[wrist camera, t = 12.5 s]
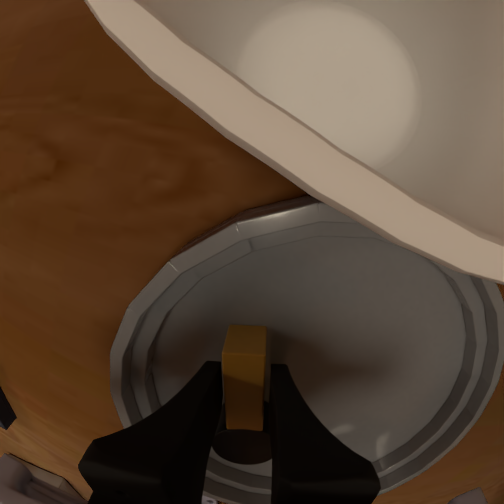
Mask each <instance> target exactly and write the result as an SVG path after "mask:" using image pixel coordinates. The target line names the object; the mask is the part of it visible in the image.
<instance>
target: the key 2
mask: <svg viewBox="0 0 504 504" xmlns="http://www.w3.org/2000/svg"><path fill="white" fill-rule="evenodd" d="M266 338H267V327H266V326H254V325H229V327H228V331H227V335H226V339H225V343H224V347H223V351H222V366H223V383H224V398H225V403H223V404H222V409H221V415H220V419H219V423H218V426H217V430H216V433H215V437H214V440H213V444H212V448H213V450H214V452H215V453H216V454H217V455H218V456H220V457H221V458H223V459H225V460H227V461H229V462H232V463H236V464H242V465H254V464H260V463H264V462H267V461H269V460H271V459H272V454H271V442H270V430H269V403H268V402H266V401H264V391H265V366H266Z"/></svg>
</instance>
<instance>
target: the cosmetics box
mask: <svg viewBox="0 0 504 504" xmlns="http://www.w3.org/2000/svg"><path fill="white" fill-rule="evenodd" d="M8 455H9V456H11V457H13V458H14V459H16V460H18V461H19V462H21V463H22V464H24V465H25V466H26V467H27V468H28V469H29V470H30V472H31V473H32V475H33V476H35V477H37V478H39V479H40V480H42V481H44V482H46V483H48V484H50V485H52V486H55V487H57V488H59V489H61V490H63V491H65V492H68V493H70V494H72V495H74V496H77V497H79V498H82V497H81V496H80V495H79V494H78V493H77V492H76V491H75V490H74V489H73V488H72V487H71V486H70V485H69V484H68V482H67V481H66V480H65V479H64V478H62V477H60V476H57V475H54V474H52V473H49V472H47V471H45V470H42V469H40V468H38V467H35V466H33V465H31V464H29V463H27V462H25V461H23V460H20V459H19V458H17V457H15V456H13V455H11V454H8ZM82 499H83V498H82Z"/></svg>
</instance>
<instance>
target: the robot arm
mask: <svg viewBox="0 0 504 504" xmlns="http://www.w3.org/2000/svg"><path fill="white" fill-rule="evenodd" d="M222 402H223V383H222V368H221V361H208V360H207V361H206V362H205V363H204V364H203V365H202V366H201V368H200V369H199V370H198V371H197V373H196V374H195V375H194V376H193V377H192V378H191V379H190V381H189V382H188V383H187V384H186V385H185V386H184V387H183V388H182V389H181V390H180V391H179V392H178V393H177V394H176V395H175V396H173V397H172V398H171V399H170V400H169V401H168V402H167V403H165V404H164V405H163V406H162V407H160V408H159V409H158V410H156V411H155V412H154V413H152V414H150V415H149V416H147V417H146V418H144V419H142V420H141V421H139V422H137V423H135V424H134V425H131V426H129V427H127V428H125V429H123V430H121V431H118V432H116V433H113V434H110V435H107V436H104V437H101V438H98V439H94V440H93V441H92V443H91V444H90V446H89V447H88V449H87V450H86V452H85V454H84V455H83V457H82V459H81V461H80V463H79V464H78V469H79V471H80V473H81V475H82V476H83V478H84V479H85V480H86V482H87V483H88V485H89V486H90V487H91V488H92V490H93V493H92V495H91V497H90V499H89V501H87V500H84V499H82V498H79V497H77V496H74V495H72V494H70V493H68V492H65V491H63V490H61V489H59V488H57V487H55V486H52V485H50V484H48V483H46V482H44V481H42V480H40V479H39V478H37V477H35V476H33V475H32V473H31V472H30V470H29V469H28V468H27V467H26V466H25V465H24V464H22V463H21V462H19V461H18V460H16V459H14V458H13V457H11V456H9V455H8V454H6V453H4V454H3V456H2V457H1V458H0V504H218V501H217V500H215V499H212V498H209V497H206V496H204V495H203V489H204V482H205V475H206V469H207V463H208V458H209V454H210V451H211V447H212V444H213V440H214V437H215V433H216V430H217V426H218V423H219V419H220V415H221V409H222ZM269 430H270V442H271V454H272V483H271V504H371V503H372V502H373V500H374V499H375V498H376V496H377V495H378V493H379V492H380V489H381V485H380V480H379V477H378V475H377V473H376V470H375V468H374V466H373V464H372V462H371V461H369V460H367V459H365V458H364V457H362V456H360V455H359V454H357V453H356V452H354V451H353V450H351V449H350V448H349V447H347V446H346V445H345V444H343V443H342V442H341V441H340V440H339V439H338V438H337V437H335V436H334V435H333V434H332V433H331V432H330V431H329V430H328V429H327V428H326V427H325V426H324V425H323V424H322V423H321V422H320V420H319V419H318V418H317V417H316V416H315V414H314V413H313V412H312V410H311V409H310V408H309V406H308V405H307V403H306V402H305V400H304V399H303V397H302V395H301V394H300V392H299V390H298V388H297V387H296V385H295V383H294V381H293V379H292V376H291V374H290V371H289V368H288V366H287V365H286V364H271V373H270V392H269ZM448 504H488V503H487V501H486V499H485V496H484V494H483V492H482V490H481V488H480V487H478V488H476V489H473V490H471V491H469V492H466V493H464V494H461V495H459V496H457V497H455V498H453V499H452V500H451V501H450V502H449V503H448Z"/></svg>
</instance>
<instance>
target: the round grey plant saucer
mask: <svg viewBox="0 0 504 504" xmlns="http://www.w3.org/2000/svg"><path fill="white" fill-rule="evenodd" d="M229 325H254V326H266V327H267V338H266V366H265V391H264V401H266V402H268V403H269V392H270V373H271V364H286V365H287V366H288V368H289V371H290V374H291V376H292V379H293V381H294V383H295V385H296V387H297V388H298V390H299V392H300V394H301V395H302V397H303V399H304V400H305V402H306V403H307V405H308V406H309V408H310V409H311V410H312V412H313V413H314V414H315V416H316V417H317V418H318V419H319V420H320V422H321V423H322V424H323V425H324V426H325V427H326V428H327V429H328V430H329V431H330V432H331V433H332V434H333V435H334V436H335V437H337V438H338V439H339V440H340V441H341V442H342V443H343V444H345V445H346V446H347V447H349V448H350V449H351V450H353V451H354V452H356V453H357V454H359V455H360V456H362V457H364V458H365V459H367V460H369V461H371V462H372V464H373V466H374V468H375V470H376V473H377V475H378V477H379V480H380V485H381V489H380V492H379V493H378V495H380V494H383V493H385V492H388V491H390V490H392V489H395V488H396V487H398V486H400V485H402V484H404V483H406V482H407V481H409V480H411V479H413V478H414V477H416V476H418V475H419V474H421V473H423V472H424V471H426V470H427V469H428V468H430V467H431V466H432V465H434V464H435V463H436V462H437V461H439V460H440V459H441V458H442V457H443V456H445V455H446V454H447V453H448V452H449V451H450V450H452V449H453V448H454V447H455V446H456V445H457V444H458V443H459V442H460V441H461V439H462V438H463V437H464V436H465V435H466V434H467V432H468V431H469V430H470V429H471V428H472V426H473V425H474V424H475V423H476V421H477V420H478V419H479V417H480V416H481V414H482V412H483V411H484V409H485V407H486V405H487V403H488V402H489V400H490V398H491V396H492V394H493V392H494V390H495V388H496V386H497V384H498V381H499V378H500V374H501V370H502V366H503V362H504V301H503V298H502V296H501V293H500V291H499V289H498V286H497V284H496V283H495V282H492V281H488V280H485V279H481V278H478V277H474V276H470V275H467V274H463V273H460V272H456V271H454V270H452V269H449V268H447V267H445V266H443V265H441V264H439V263H437V262H434V261H432V260H430V259H428V258H426V257H424V256H421V255H419V254H417V253H415V252H412V251H410V250H408V249H406V248H403V247H401V246H399V245H397V244H394V243H392V242H390V241H389V240H387V239H385V238H384V237H382V236H380V235H379V234H377V233H375V232H374V231H372V230H370V229H369V228H367V227H365V226H364V225H362V224H360V223H359V222H357V221H355V220H353V219H352V218H350V217H348V216H347V215H345V214H343V213H341V212H340V211H338V210H336V209H334V208H333V207H331V206H329V205H327V204H325V203H324V202H322V201H320V200H318V199H316V198H314V197H313V196H310V197H309V196H304V197H300V198H295V199H291V200H287V201H283V202H278V203H274V204H270V205H266V206H262V207H258V208H254V209H250V210H246V211H243V213H239V214H237V215H235V216H233V217H232V218H230V219H228V220H226V221H225V222H223V223H221V224H219V225H218V226H216V227H214V228H212V229H211V230H209V231H207V232H205V233H204V234H202V235H200V236H198V237H197V238H195V239H193V240H192V241H190V242H188V243H187V244H186V245H184V246H183V247H182V248H181V249H180V250H179V251H178V252H177V253H176V254H175V255H174V256H173V257H172V258H171V259H170V260H169V261H168V262H167V263H166V264H165V265H164V266H163V268H162V269H161V270H160V271H159V272H158V273H157V274H156V275H155V276H154V277H153V278H152V280H151V281H150V282H149V283H148V284H147V285H146V286H145V287H144V288H143V290H142V291H141V292H140V293H139V294H138V295H137V296H136V297H135V299H134V300H133V301H132V302H131V303H130V304H129V306H128V307H127V309H126V312H125V314H124V317H123V319H122V322H121V324H120V327H119V329H118V332H117V335H116V337H115V340H114V343H113V345H112V348H111V352H110V392H111V395H112V398H113V401H114V404H115V407H116V409H117V412H118V415H119V417H120V420H121V423H122V425H123V427H124V429H125V428H127V427H129V426H131V425H134V424H135V423H137V422H139V421H141V420H142V419H144V418H146V417H147V416H149V415H150V414H152V413H154V412H155V411H156V410H158V409H159V408H160V407H162V406H163V405H164V404H165V403H167V402H168V401H169V400H170V399H171V398H172V397H173V396H175V395H176V394H177V393H178V392H179V391H180V390H181V389H182V388H183V387H184V386H185V385H186V384H187V383H188V382H189V381H190V379H191V378H192V377H193V376H194V375H195V374H196V373H197V371H198V370H199V369H200V368H201V366H202V365H203V364H204V363H205V362H206V361H207V360H208V361H221V368H222V383H223V366H222V351H223V347H224V343H225V339H226V335H227V331H228V327H229ZM223 403H225V398H224V383H223V402H222V404H223ZM271 483H272V459H271V460H269V461H267V462H264V463H260V464H254V465H242V464H236V463H232V462H229V461H227V460H225V459H223V458H221V457H220V456H218V455H217V454H216V453H215V452H214V450H213V448H212V447H211V451H210V454H209V458H208V463H207V469H206V475H205V482H204V489H203V495H204V496H206V497H209V498H212V499H215V500H218V501H221V502H225V503H228V504H271ZM378 495H377V496H378Z"/></svg>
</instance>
